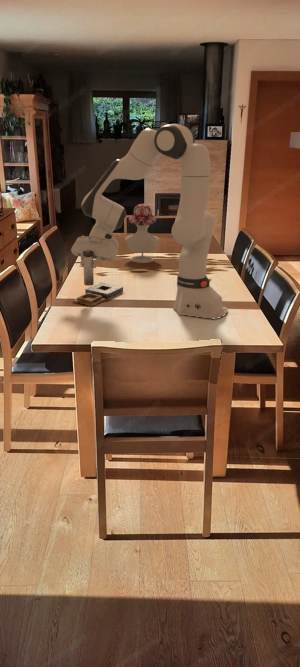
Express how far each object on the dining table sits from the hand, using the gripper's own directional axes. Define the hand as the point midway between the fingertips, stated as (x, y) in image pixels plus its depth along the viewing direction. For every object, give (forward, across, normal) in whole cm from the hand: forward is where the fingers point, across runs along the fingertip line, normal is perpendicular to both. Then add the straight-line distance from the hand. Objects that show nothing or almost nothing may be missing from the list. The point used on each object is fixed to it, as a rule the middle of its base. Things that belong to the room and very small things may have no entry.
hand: (87, 266), depth 208 cm
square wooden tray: (+10, 0, +11) cm, 15 cm away
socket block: (+2, 0, +20) cm, 20 cm away
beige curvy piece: (-42, -12, +64) cm, 78 cm away
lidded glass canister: (+5, 0, +6) cm, 8 cm away
